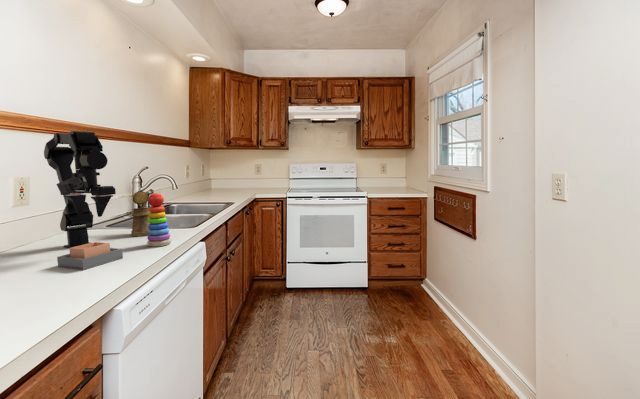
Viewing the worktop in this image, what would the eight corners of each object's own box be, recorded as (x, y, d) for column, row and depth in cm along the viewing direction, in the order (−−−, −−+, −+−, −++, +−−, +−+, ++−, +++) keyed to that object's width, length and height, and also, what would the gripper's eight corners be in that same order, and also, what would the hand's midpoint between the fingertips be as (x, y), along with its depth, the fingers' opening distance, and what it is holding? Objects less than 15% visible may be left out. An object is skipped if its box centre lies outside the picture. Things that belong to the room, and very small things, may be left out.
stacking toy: (175, 242, 127) (172, 192, 125) (164, 247, 120) (160, 194, 118) (155, 242, 128) (152, 192, 126) (142, 247, 120) (138, 194, 118)
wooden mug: (154, 229, 153) (151, 189, 151) (155, 235, 141) (152, 191, 139) (131, 231, 149) (128, 190, 147) (131, 237, 137) (127, 193, 135)
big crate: (58, 266, 98) (57, 256, 98) (99, 255, 110) (98, 246, 109) (83, 270, 95) (82, 259, 94) (122, 258, 106) (122, 248, 106)
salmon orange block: (70, 263, 99) (69, 248, 99) (96, 255, 107) (95, 241, 106) (85, 264, 97) (83, 249, 97) (110, 257, 105) (109, 243, 104)
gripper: (40, 170, 109) (45, 218, 110) (81, 169, 102) (86, 221, 104) (75, 169, 119) (79, 213, 121) (114, 169, 113) (118, 215, 114)
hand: (90, 216), depth 115 cm, fingers open, 9 cm apart
